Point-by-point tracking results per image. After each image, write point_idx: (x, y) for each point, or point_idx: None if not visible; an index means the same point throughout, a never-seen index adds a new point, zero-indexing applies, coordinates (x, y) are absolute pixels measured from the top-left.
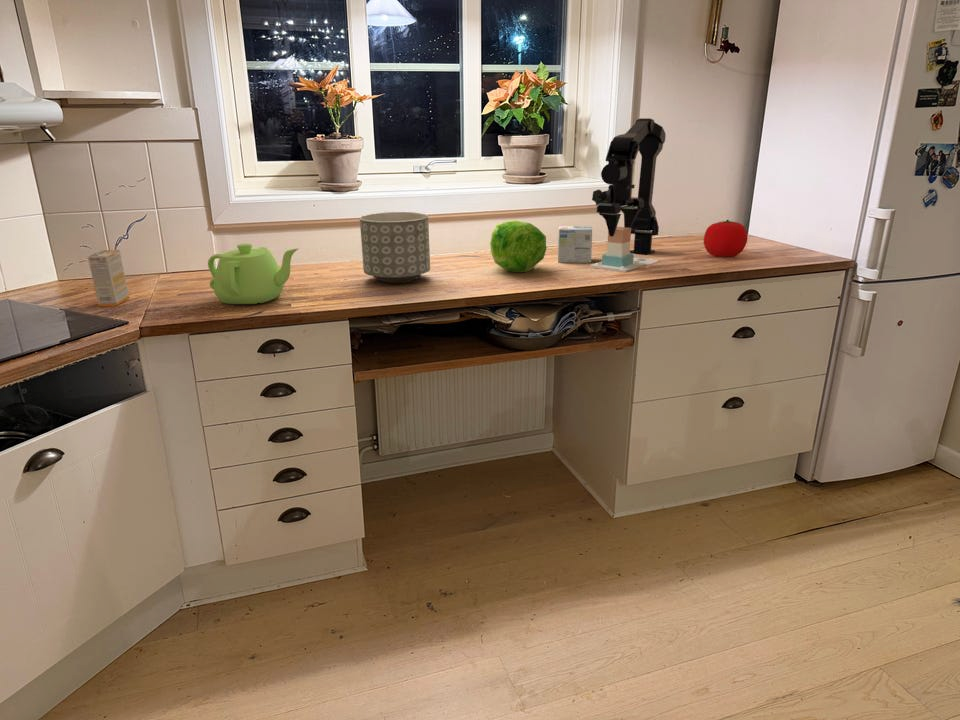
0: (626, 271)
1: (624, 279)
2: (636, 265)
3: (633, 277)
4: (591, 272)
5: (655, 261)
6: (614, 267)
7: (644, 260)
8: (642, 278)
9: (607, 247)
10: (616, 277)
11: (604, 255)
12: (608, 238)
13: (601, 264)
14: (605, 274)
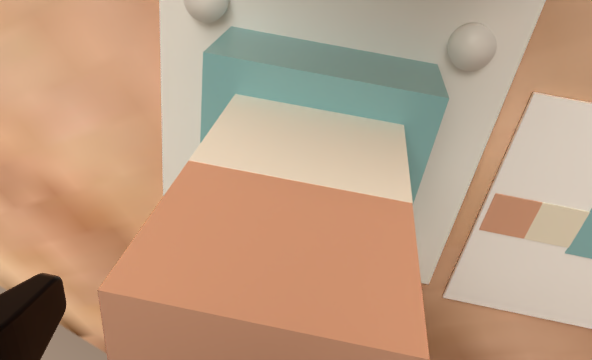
0: None
1: (17, 253)
2: None
3: (87, 279)
4: (10, 25)
5: (567, 316)
6: (193, 150)
7: (583, 257)
8: (99, 314)
9: (211, 129)
10: (21, 210)
11: (203, 78)
12: (169, 195)
13: (236, 22)
14: (35, 134)
